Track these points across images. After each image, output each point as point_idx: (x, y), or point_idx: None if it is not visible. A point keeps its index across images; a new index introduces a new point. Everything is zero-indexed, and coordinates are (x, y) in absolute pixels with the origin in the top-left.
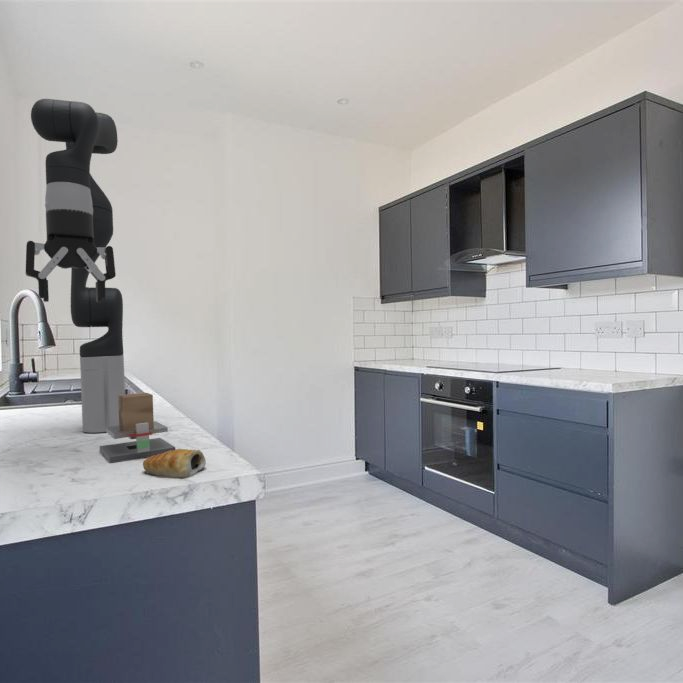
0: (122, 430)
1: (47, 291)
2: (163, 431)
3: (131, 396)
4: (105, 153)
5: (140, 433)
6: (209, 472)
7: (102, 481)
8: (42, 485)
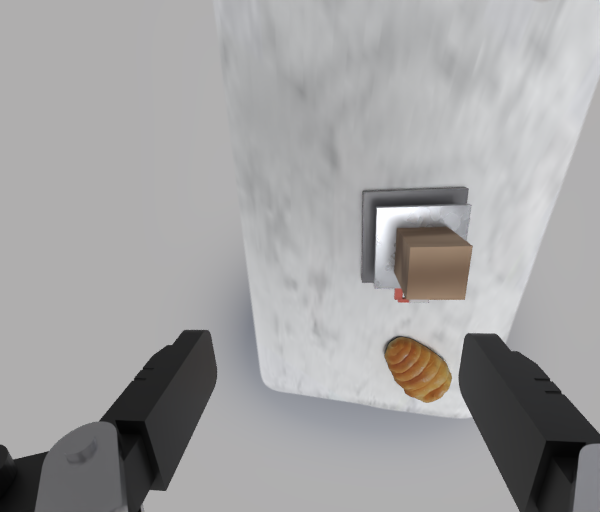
0: (393, 264)
1: (195, 418)
2: None
3: (423, 295)
4: None
5: None
6: None
7: (340, 351)
8: (286, 327)
